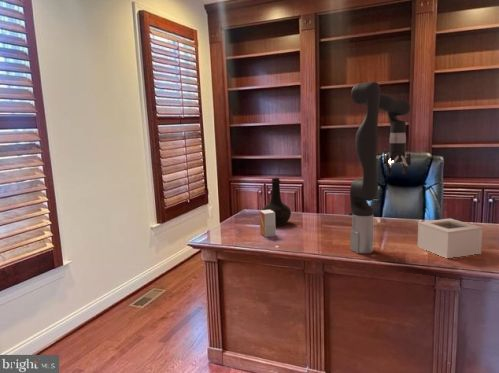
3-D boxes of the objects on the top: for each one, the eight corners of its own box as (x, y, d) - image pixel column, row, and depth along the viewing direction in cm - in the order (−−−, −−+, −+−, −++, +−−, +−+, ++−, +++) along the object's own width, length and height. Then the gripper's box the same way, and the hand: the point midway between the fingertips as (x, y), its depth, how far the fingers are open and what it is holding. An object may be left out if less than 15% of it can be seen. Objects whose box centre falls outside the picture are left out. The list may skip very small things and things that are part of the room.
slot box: (446, 259, 161) (448, 231, 160) (417, 247, 178) (418, 222, 177) (481, 254, 166) (482, 227, 164) (449, 242, 183) (450, 218, 181)
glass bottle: (258, 227, 224) (256, 180, 220) (265, 219, 241) (264, 175, 237) (287, 228, 219) (286, 180, 215) (293, 220, 236) (292, 176, 232)
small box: (260, 233, 211) (259, 210, 209) (270, 232, 213) (270, 209, 211) (264, 237, 203) (264, 213, 201) (276, 235, 205) (275, 212, 203)
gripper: (389, 142, 184) (389, 176, 187) (414, 141, 188) (413, 174, 190) (380, 142, 191) (380, 174, 194) (404, 141, 195) (403, 172, 198)
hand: (396, 174), depth 192 cm, fingers open, 8 cm apart
